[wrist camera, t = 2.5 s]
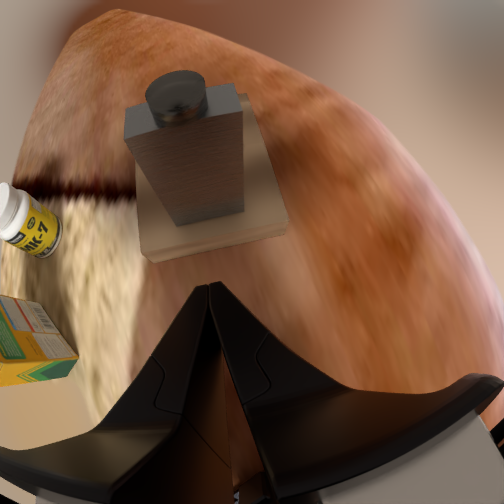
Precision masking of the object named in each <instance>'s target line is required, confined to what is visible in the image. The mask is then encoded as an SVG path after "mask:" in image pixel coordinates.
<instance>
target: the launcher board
mask: <svg viewBox="0 0 504 504" xmlns="http://www.w3.org/2000/svg"><path fill="white" fill-rule="evenodd" d="M237 95H238V98H239V101H240V104H241V107H242V110H243V158H244V212H240V213H235V214H230V215H226V216H221V217H216V218H212V219H208V220H203V221H199V222H194V223H190V224H186V225H182V226H177V227H176V225H175V224H174V222H173V220H172V219H171V217H170V216H169V214H168V212H167V211H166V209H165V208H164V206H163V205H162V203H161V201H160V200H159V198H158V196H157V195H156V193H155V192H154V190H153V188H152V187H151V185H150V183H149V182H148V180H147V178H146V177H145V175H144V173H143V172H142V170H141V168H140V167H139V165H138V163H137V162H136V160H135V170H136V197H137V214H138V227H139V238H140V248H141V254H142V255H144V256H145V257H146V258H148V259H149V260H150V261H151V262H153V263H158V262H162V261H167V260H171V259H175V258H180V257H184V256H189V255H193V254H197V253H202V252H206V251H211V250H215V249H220V248H224V247H229V246H233V245H238V244H242V243H247V242H251V241H256V240H261V239H265V238H270V237H274V236H279V235H284V233H285V231H286V228H287V225H288V223H289V218H288V214H287V211H286V208H285V205H284V201H283V198H282V195H281V192H280V189H279V186H278V183H277V179H276V176H275V173H274V170H273V167H272V164H271V161H270V158H269V155H268V152H267V149H266V146H265V143H264V141H263V138H262V135H261V132H260V129H259V126H258V123H257V121H256V118H255V115H254V112H253V110H252V107H251V104H250V101H249V99H248V96H247V93H244V94H237Z"/></svg>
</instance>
